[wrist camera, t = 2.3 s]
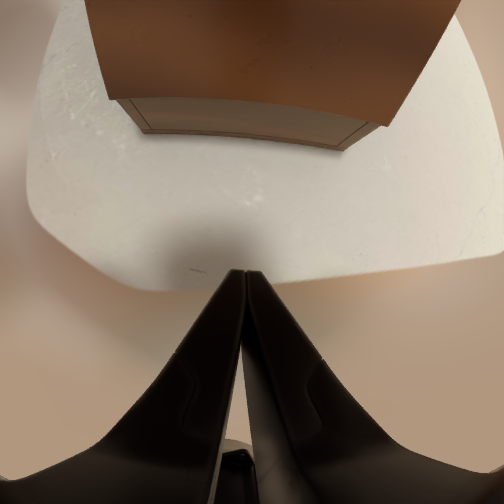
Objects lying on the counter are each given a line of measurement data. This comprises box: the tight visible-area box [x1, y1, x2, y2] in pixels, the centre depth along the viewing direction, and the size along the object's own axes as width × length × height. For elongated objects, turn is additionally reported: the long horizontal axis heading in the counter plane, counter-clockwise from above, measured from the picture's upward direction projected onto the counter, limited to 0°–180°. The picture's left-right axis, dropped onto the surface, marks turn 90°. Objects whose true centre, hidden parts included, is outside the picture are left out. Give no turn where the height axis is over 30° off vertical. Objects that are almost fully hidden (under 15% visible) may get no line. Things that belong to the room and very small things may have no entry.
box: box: [116, 98, 381, 151], centre depth 15 cm, size 11×14×6 cm
